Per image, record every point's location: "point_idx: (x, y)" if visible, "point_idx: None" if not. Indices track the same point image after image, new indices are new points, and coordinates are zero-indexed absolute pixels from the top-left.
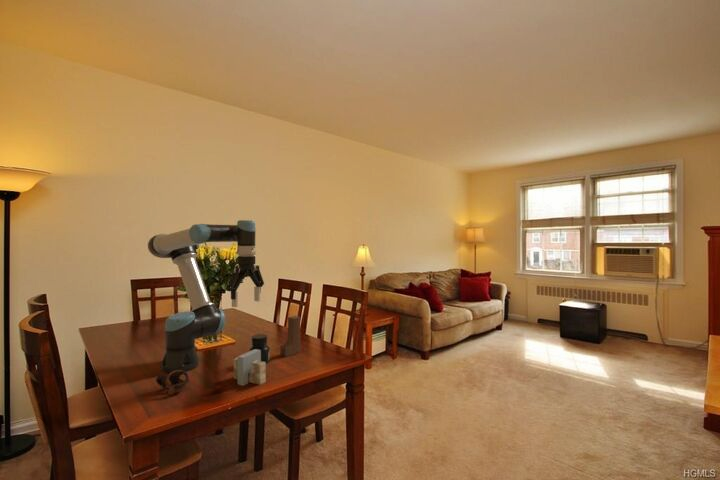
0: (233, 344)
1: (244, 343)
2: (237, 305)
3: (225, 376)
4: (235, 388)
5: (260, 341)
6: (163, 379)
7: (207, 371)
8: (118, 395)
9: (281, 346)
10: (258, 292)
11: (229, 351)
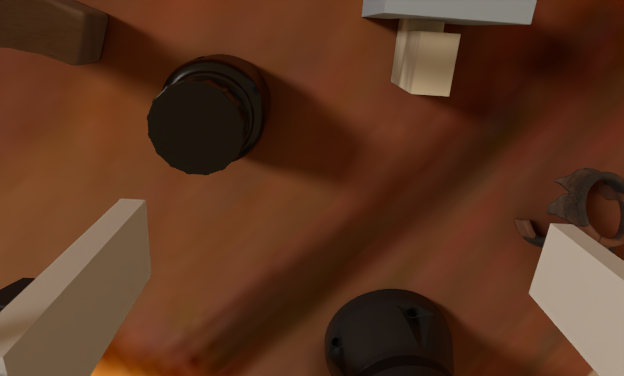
0: (111, 341)
1: None
2: (570, 233)
3: (413, 130)
4: None
5: (230, 92)
6: (614, 249)
7: (393, 228)
8: None
9: (77, 54)
10: (79, 285)
11: (185, 300)
